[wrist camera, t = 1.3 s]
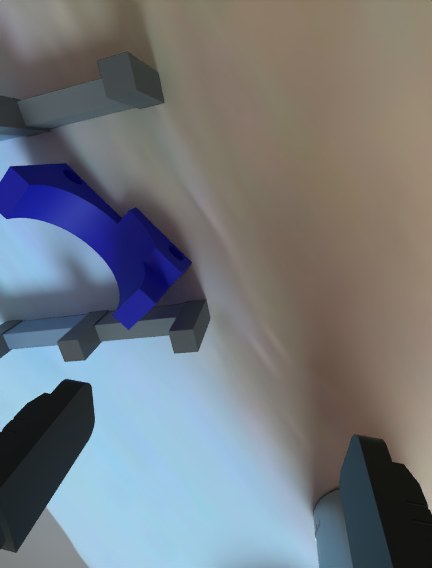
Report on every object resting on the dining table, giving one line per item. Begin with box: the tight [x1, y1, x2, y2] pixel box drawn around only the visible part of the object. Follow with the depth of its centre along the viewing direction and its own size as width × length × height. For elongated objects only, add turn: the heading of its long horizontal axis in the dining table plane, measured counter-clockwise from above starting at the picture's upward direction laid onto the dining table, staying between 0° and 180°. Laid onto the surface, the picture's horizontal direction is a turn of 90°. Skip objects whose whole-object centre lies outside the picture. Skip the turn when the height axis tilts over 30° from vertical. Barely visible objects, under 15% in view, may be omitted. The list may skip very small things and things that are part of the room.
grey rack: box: [0, 52, 210, 362], centre depth 25 cm, size 20×18×5 cm
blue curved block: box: [0, 163, 192, 330], centre depth 24 cm, size 12×4×6 cm, turn 45°
